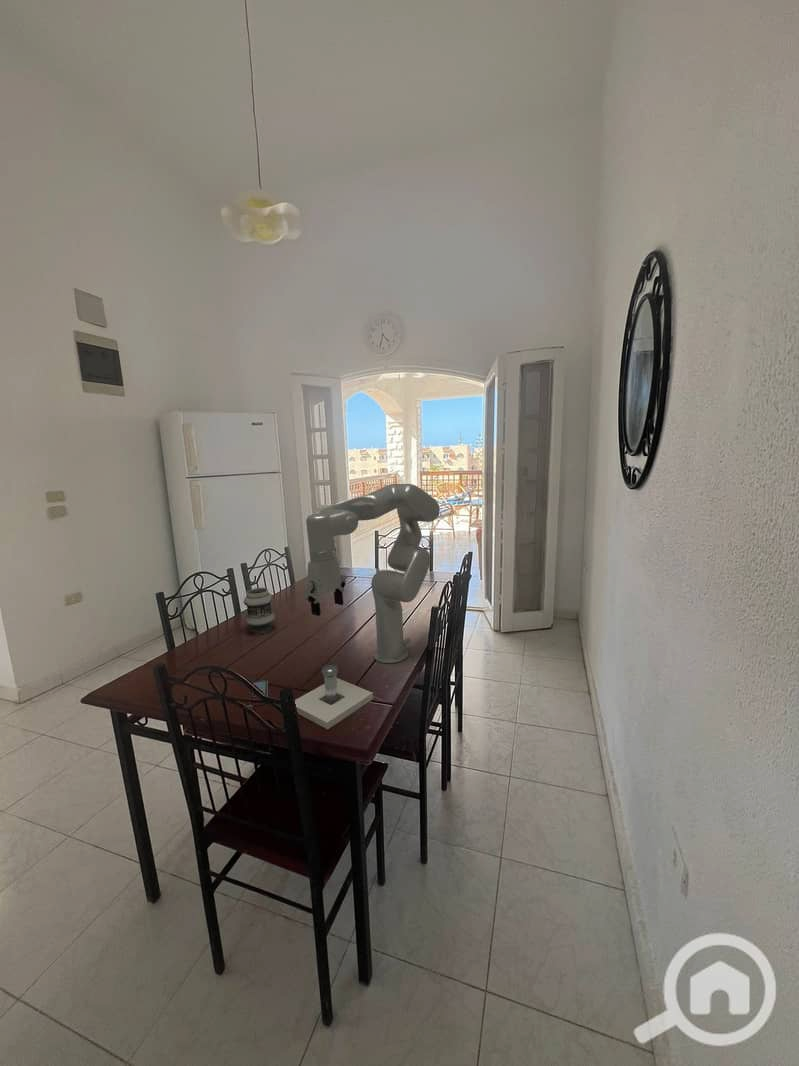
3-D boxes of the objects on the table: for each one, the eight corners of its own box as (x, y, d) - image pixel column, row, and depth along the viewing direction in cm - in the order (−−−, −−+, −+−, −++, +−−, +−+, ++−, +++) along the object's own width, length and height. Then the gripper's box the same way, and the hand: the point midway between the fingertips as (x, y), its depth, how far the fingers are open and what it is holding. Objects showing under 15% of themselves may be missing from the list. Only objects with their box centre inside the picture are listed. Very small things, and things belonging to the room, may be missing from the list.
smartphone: (267, 679, 141) (267, 702, 126) (268, 682, 141) (267, 705, 127) (244, 683, 139) (240, 707, 124) (244, 686, 139) (241, 710, 125)
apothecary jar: (240, 633, 181) (236, 592, 178) (261, 623, 191) (258, 584, 188) (261, 638, 175) (257, 596, 172) (282, 627, 185) (278, 587, 182)
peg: (332, 698, 129) (330, 663, 127) (343, 703, 126) (341, 667, 124) (320, 705, 125) (318, 669, 123) (331, 710, 122) (329, 674, 120)
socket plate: (336, 683, 137) (335, 677, 137) (373, 699, 127) (372, 692, 127) (290, 709, 123) (289, 703, 123) (327, 729, 114) (327, 722, 113)
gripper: (334, 547, 137) (338, 598, 140) (291, 561, 123) (298, 617, 127) (351, 549, 132) (356, 602, 136) (309, 563, 119) (315, 621, 122)
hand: (328, 609), depth 131 cm, fingers open, 9 cm apart
